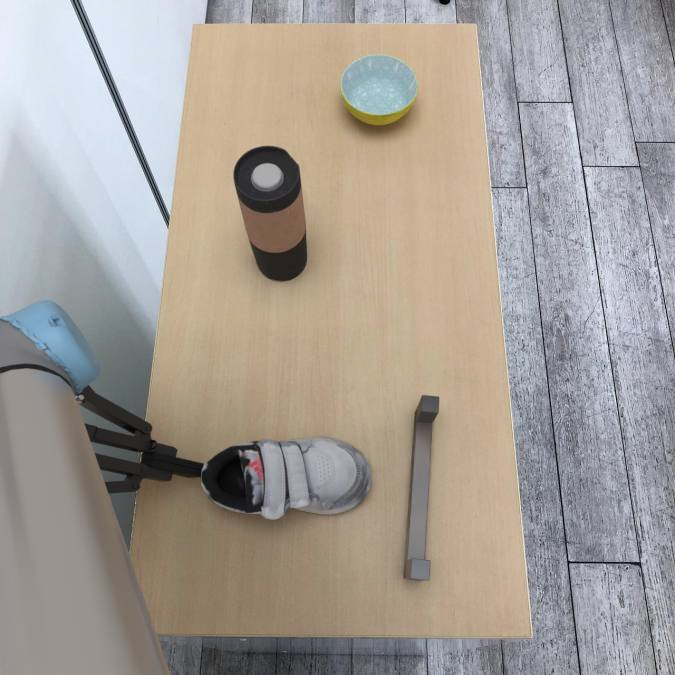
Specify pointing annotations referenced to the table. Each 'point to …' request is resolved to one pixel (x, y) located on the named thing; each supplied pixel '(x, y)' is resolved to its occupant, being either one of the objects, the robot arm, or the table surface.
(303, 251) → the travel mug
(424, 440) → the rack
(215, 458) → the sneaker
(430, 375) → the table surface
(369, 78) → the bowl
